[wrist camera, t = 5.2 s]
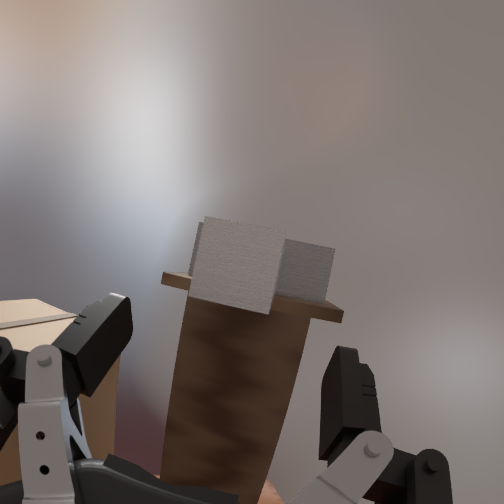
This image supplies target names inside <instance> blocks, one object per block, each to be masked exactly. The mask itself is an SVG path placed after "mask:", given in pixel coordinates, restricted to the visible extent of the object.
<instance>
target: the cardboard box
mask: <svg viewBox="0 0 504 504" xmlns="http://www.w3.org/2000/svg"><path fill="white" fill-rule="evenodd" d="M77 316H78V315H75V314H72V313H67V312H65V311H62V310H60V309H58V308H55V307H53V306H51V305H48V304H46V303H44V302H42V301H39V300H37V299H27V300H26V299H25V300H10V301H0V336H2V337H5V338H7V339H9V341H10V342H11V344H12V347H13V349H17V350H22V351H28V352H30V351H31V350H32V349H33V348H35V347H37V346H39V345H44V344H48V345H51V344H52V343H53V342H54V341H55V339H56V338H57V337H58V336H59V335H60V334H61V333H62V332H63V331H64V330H65V329H66V328H67V327H68V326H69V324H70V323H71V322H73V320H74V319H75V318H76V317H77ZM120 355H121V354H120ZM120 355H119V357H118V358H117V360H116V361H115V362H114V364H113V365H112V367H111V368H110V370H109V371H108V373H107V374H106V376H105V377H104V378H103V380H102V381H101V383H100V384H99V386H98V387H97V389H96V390H95V392H94V393H93V395H92V396H91V398H90V397H87V396H85V395H83V394H80V395H79V397H78V399H79V402H80V408H81V415H82V421H83V427H84V432H85V438H86V442H87V445H88V448H89V450H90V453H91V456H92V458H97V459H105V460H106V458H107V456H108V454H109V453H110V454H112V455H114V432H115V412H116V411H115V410H116V397H117V384H118V373H119V363H120ZM19 480H22V473H21V463H20V452H19V434H18V424H17V425H16V427H15V428H14V430H13V432H12V433H11V435H10V436H9V438H8V440H7V441H6V443H5V445H4V446H3V448H2V450H1V451H0V486H2V485H5V484H9V483H12V482H15V481H19Z"/></svg>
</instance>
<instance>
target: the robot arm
mask: <svg viewBox="0 0 504 504" xmlns="http://www.w3.org/2000/svg"><path fill="white" fill-rule="evenodd" d="M132 332H133V322H132V313H131V302H130V299H129V298H128V297H126V296H123V295H119V294H116V293H109V294H108V295H107V296H106V297H105V298H104V299H103V300H102V301H101V302H100V301H96V302H94V303H93V304H91V305H89V306H87V307H86V308H85V309H84V310H83V311H82V312H81V313H80V314H79V316H77V317H76V318H75V319H74V320H73V322H71V323H70V324H69V326H68V327H67V328H66V329H65V330H64V331H63V332H62V333H61V334H60V335H59V336H58V337H57V338H56V339H55V341H54V342H53V343H52V344H51V345H48V344H44V345H39V346H37V347H35V348H33V349H32V350H31V351H30V352H28V351H22V350H17V349H13V347H12V344H11V342H10V341H9V339H7V338H5V337H2V336H0V451H1V450H2V448H3V446H4V445H5V443H6V441H7V440H8V438H9V436H10V435H11V433H12V432H13V430H14V428H15V427H16V425H17V424H18V434H19V452H20V463H21V473H22V480H19V481H15V482H12V483H9V484H5V485H2V486H0V504H242V503H240V502H238V497H239V495H237V494H232V493H227V492H223V491H219V490H214V489H210V488H207V487H194V486H180V485H171V484H167V483H165V482H163V481H162V480H160V479H158V478H157V477H155V476H154V475H152V474H150V473H149V472H147V471H146V470H144V469H143V468H141V467H140V466H138V465H136V464H133V463H131V462H128V461H126V460H124V459H121V458H119V457H117V456H114V455H112V454H110V453H109V454H108V456H107V458H106V460H105V459H97V458H92V456H91V453H90V450H89V448H88V445H87V442H86V438H85V432H84V427H83V421H82V415H81V408H80V402H79V399H78V397H79V395H80V394H83V395H85V396H87V397H90V398H91V396H92V395H93V393H94V392H95V390H96V389H97V387H98V386H99V384H100V383H101V381H102V380H103V378H104V377H105V376H106V374H107V373H108V371H109V370H110V368H111V367H112V365H113V364H114V362H115V361H116V360H117V358H118V357H119V355H120V354H121V352H122V351H123V350H124V348H125V347H126V345H127V344H128V342H129V341H130V339H131V336H132ZM376 396H377V393H376V388H375V380H374V375H373V373H372V371H371V370H370V368H369V366H368V365H367V364H362V363H359V357H358V351H357V349H354V348H348V347H342V346H337V347H336V348H335V351H334V353H333V355H332V358H331V360H330V362H329V364H328V367H327V369H326V371H325V374H324V376H323V380H322V386H321V419H320V444H319V460H326V461H328V467H327V469H326V470H325V471H324V472H323V473H322V474H321V475H320V476H318V477H317V478H316V479H314V480H313V481H312V482H311V483H310V484H309V485H308V486H307V487H306V488H305V489H303V490H302V491H301V492H300V493H299V494H298V495H297V496H296V497H295V498H293V499H292V500H291V501H290V502H289V503H287V504H357V503H358V501H359V500H360V499H361V498H364V499H367V500H370V501H374V502H375V504H453V501H452V490H451V481H450V472H449V465H448V461H447V459H446V457H445V456H444V455H443V454H442V453H441V452H439V451H437V450H434V449H425V450H423V451H421V452H420V453H419V454H418V455H413V454H410V453H407V452H404V451H401V450H398V449H395V448H394V447H393V445H392V442H391V441H390V439H389V438H388V437H387V436H385V435H384V434H382V431H381V424H380V416H379V408H378V400H377V397H376Z"/></svg>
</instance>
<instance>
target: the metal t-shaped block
mask: <svg viewBox="0 0 504 504" xmlns="http://www.w3.org/2000/svg"><path fill="white" fill-rule="evenodd" d="M285 236H286V232H285V231H280V230H275V229H270V228H265V227H260V226H254V225H250V224H244V223H239V222H234V221H228V220H223V219H218V218H213V217H207V216H206V217H205V219H204V223H202V222H199V226H198V231H197V235H196V240H195V244H194V249H193V253H192V258H191V263H190V268H189V273H188V275H189V276H192V279H191V284H190V289H189V295H188V296H190V297H194V298H198V299H203V300H207V301H211V302H215V303H219V304H224V305H228V306H232V307H237V308H241V309H246V310H250V311H255V312H259V313H264V314H269V312H270V309H271V306H272V303H273V300H274V298H275V295H279V296H284V297H289V298H294V299H299V300H304V301H309V302H314V303H319V304H324V301H325V296H326V292H327V287H328V282H329V277H330V272H331V267H332V262H333V257H334V251H335V249H333V248H328V247H323V246H318V245H313V244H308V243H304V242H299V241H293V240H288V239H285Z"/></svg>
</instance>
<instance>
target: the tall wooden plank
mask: <svg viewBox="0 0 504 504" xmlns="http://www.w3.org/2000/svg"><path fill="white" fill-rule="evenodd" d="M191 279H192V276H189V275H188V273H179V272H176V273H175V272H163V275H162V281H161V284H164V285H168V286H172V287H176V288H180V289H184V290H188V295H189V289H190V284H191ZM343 313H344V311H343V310H341V309H340V308H338V307H336V306H335V305H333V304H331V303H330V302H328V301H326V300H325V301H324V304H319V303H314V302H309V301H304V300H299V299H294V298H289V297H284V296H279V295H275V298H274V300H273V303H272V306H271V309H270V312H269V314H264V313H259V312H255V311H250V310H246V309H241V308H237V307H232V306H228V305H224V304H219V303H215V302H211V301H207V300H203V299H198V298H194V297H190V296H187V301H186V307H185V312H184V317H183V322H182V328H181V333H180V340H179V345H178V351H177V357H176V363H175V369H174V375H173V382H172V389H171V395H170V402H169V409H168V416H167V423H166V431H165V438H164V447H163V454H162V463H161V473H160V480H162V481H163V482H165V483H167V484H171V485H180V486H194V487H207V488H210V489H214V490H219V491H223V492H227V493H232V494H237V495H239V497H238V502H240V503H242V504H257V503H258V500H259V497H260V494H261V491H262V488H263V486H264V483H265V480H266V477H267V474H268V470H269V468H270V465H271V462H272V459H273V455H274V452H275V449H276V446H277V443H278V439H279V436H280V433H281V429H282V426H283V423H284V419H285V416H286V412H287V409H288V406H289V402H290V398H291V395H292V391H293V387H294V384H295V380H296V376H297V372H298V369H299V364H300V360H301V357H302V353H303V349H304V344H305V340H306V336H307V332H308V328H309V324H310V319H311V318H316V319H321V320H327V321H332V322H337V323H341V321H342V317H343Z"/></svg>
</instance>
